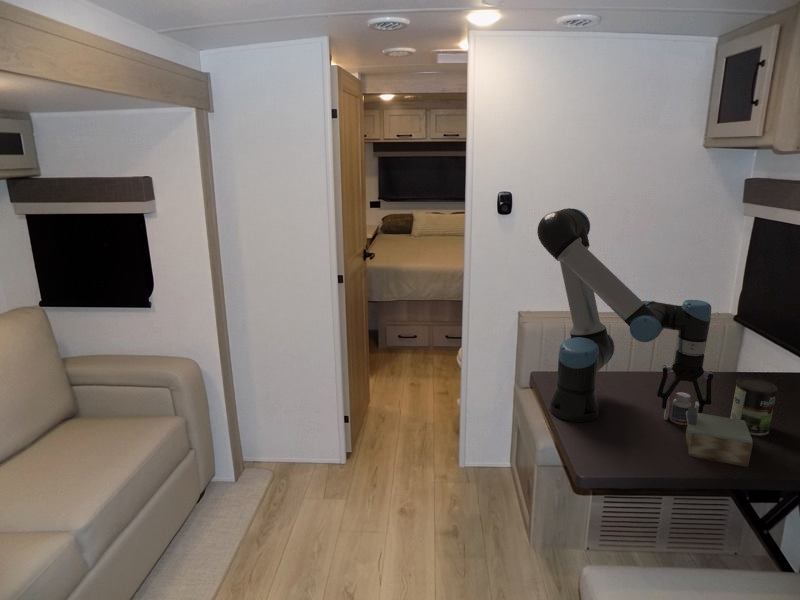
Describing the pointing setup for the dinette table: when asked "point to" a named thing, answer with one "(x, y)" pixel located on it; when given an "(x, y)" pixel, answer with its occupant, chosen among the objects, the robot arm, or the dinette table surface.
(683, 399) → the pill bottle
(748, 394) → the coffee can
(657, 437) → the dinette table surface
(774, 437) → the dinette table surface
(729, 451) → the box
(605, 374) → the dinette table surface
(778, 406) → the dinette table surface
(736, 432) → the lid
